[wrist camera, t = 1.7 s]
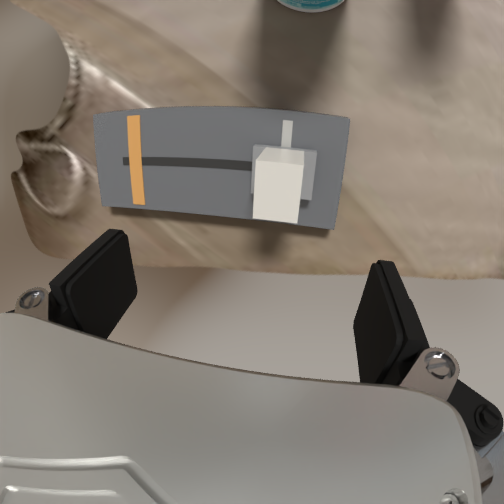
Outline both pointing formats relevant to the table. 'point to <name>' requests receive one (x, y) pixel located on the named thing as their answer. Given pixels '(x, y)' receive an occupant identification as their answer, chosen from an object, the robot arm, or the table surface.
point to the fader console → (213, 158)
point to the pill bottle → (311, 5)
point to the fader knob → (281, 181)
